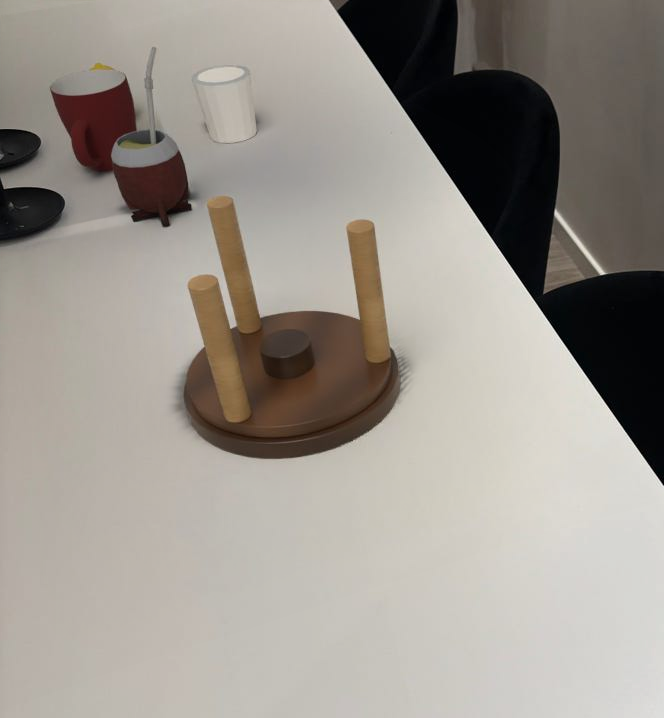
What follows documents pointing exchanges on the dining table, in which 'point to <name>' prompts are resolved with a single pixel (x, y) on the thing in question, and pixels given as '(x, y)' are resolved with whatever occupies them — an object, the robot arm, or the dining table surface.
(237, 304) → the rack turntable
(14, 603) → the dining table surface
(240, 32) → the dining table surface
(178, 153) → the mate gourd
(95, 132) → the mug
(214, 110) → the shot glass
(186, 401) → the rack base
